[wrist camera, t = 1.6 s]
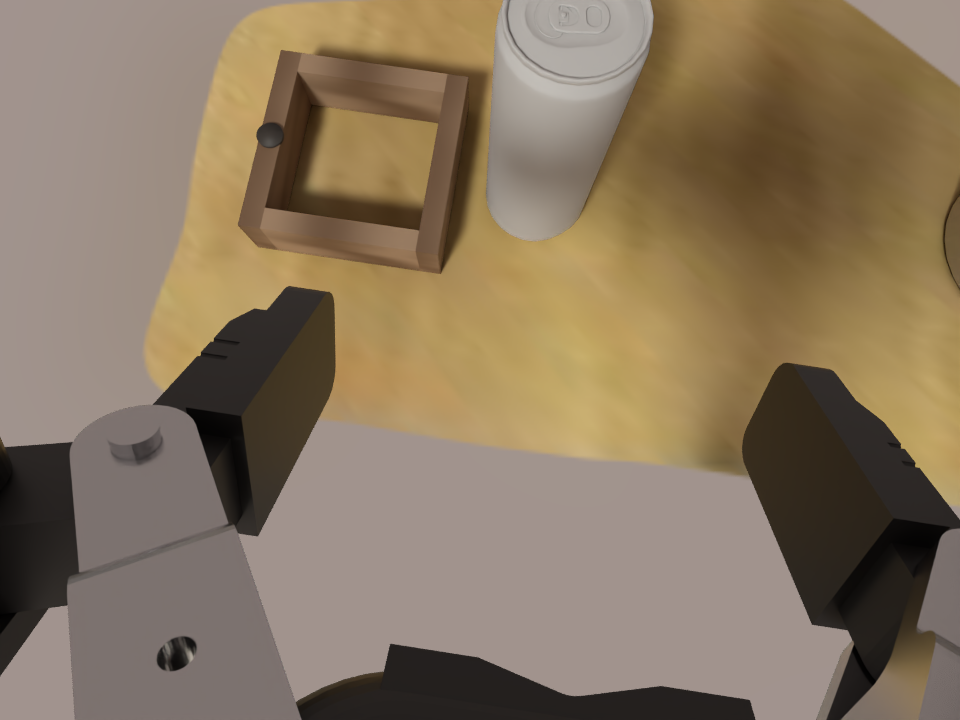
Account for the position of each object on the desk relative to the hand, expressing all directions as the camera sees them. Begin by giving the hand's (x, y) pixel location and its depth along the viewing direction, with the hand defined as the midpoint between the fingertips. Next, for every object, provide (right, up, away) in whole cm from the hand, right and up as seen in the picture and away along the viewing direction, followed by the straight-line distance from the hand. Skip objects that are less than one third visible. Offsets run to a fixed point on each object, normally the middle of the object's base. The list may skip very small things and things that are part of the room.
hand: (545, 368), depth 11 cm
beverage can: (+2, +8, +19) cm, 20 cm away
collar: (-7, +9, +18) cm, 22 cm away
